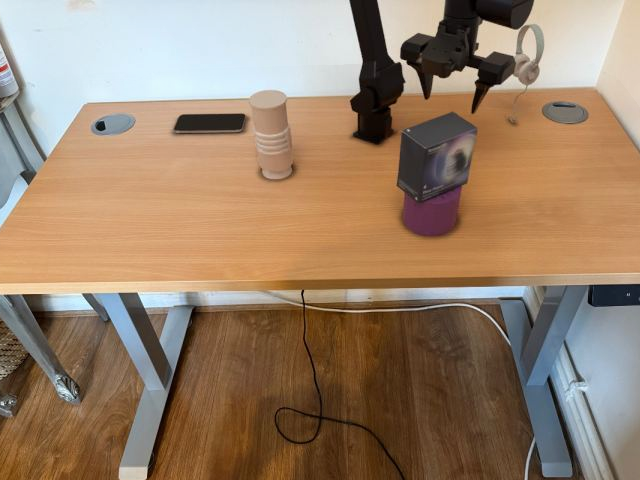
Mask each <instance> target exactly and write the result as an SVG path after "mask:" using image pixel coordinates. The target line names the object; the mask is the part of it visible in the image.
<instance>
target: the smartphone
mask: <svg viewBox="0 0 640 480" xmlns="http://www.w3.org/2000/svg"><path fill="white" fill-rule="evenodd" d="M246 119H247V117H246V114H245V113H241V112H240V113H239V112H238V113H183V114H180V115H179V116H178V118H177V120H176V122H175V125H174V127H173V132H174V133H176V134H200V133H201V134H204V133H205V134H207V133H208V134H209V133H211V134H212V133H214V134H215V133H240V132H242V131H243V130H244V126H245V121H246Z"/></svg>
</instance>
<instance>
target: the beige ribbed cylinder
mask: <svg viewBox="0 0 640 480" xmlns="http://www.w3.org/2000/svg"><path fill="white" fill-rule="evenodd" d="M287 101H288V96H287V94H285V92H283V91H281V90H276V89H265V90H259V91H257V92H254V93H253V94H251V95H250V97H249V98H248V104H249V106H250V108H251V116H252V121H253V127H252V132H253V138H254V144H255V150H256V152H257V160H258V161H257V162H258V165H259V167H260V168H261V169H262V170H261V174H262V176H264V178H266V179H269V180H282V179H285V178H287V177H289V176H290V175H291V174H292V173H293V168H292V165H293V163H294V157H293V151H292V148H293V141H292V140H293V139H292V131H291V129H292V128H291V125H290V123H289V119H288V111H287Z"/></svg>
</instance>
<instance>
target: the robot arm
mask: <svg viewBox="0 0 640 480" xmlns="http://www.w3.org/2000/svg"><path fill="white" fill-rule="evenodd" d="M348 1H349V5H350V10H351V15H352V19H353V25H354V29H355V32H356V37H357V42H358V46H359V50H360V51H359V52H360V56H361V61H362V62H361V67H360V71H359V77H358V84H359V85H358V86H359V92H358V93H356V94H355V95H354V96H353V97H352V98H350V99H349V104H350V108H351V111H352V112H354V113H356V114H357V129H356V130H355V131H354V132H353V133H352V137H354V138H358V139H359V140H363V141H366V142H369V143H371V144H374V145H380V144H381V143H382V142H383V141H384V140H386V139H388V138H389V137H390V136H391V135H392V134H393V133H395V129H393V115H391V114H392V107H391V106H393V105H395V104H397V103H398V100H399V99H400V97H401V96H402V95H403V93H404V91H405V84H406V80H405V76H404V74H403V72H404V71H403V64H402V63H401V62H400V61H397V62H395V61H394V60H393V58H392V57H391V56H390V55H389V53H388V47H387V42H386V37H385V33H384V27H383V22H382V16H381V11H380V7H379V6H380V5H379V1H378V0H348ZM534 3H535V0H444V7H443V14H442V15H443V17H442V19H441V20H440V21H438V25H437V31H436V33H435V36H434V35H430V34H425V33H421V32H417V33H415V34H413V35H412V36H410V37H409V38H407V39H406V40H404V41H403V42H402V43H401V46H400V48H399V50H400V52H399V59H400V60H402V61H405V63H406V65H407V66H409V67H411V68H412V69H413V70H414V71H415V72H416V74H417V78H418V80H419V83H420V86H421V90H422V94H423V98H424V101H428V100H429V99H430V98H431V93H432V90H433V84H434V77H438V78H440V79H447V78H449V77H450V76H451V75H452V73H454V72H459V73H462V72H463V70H464V69H465V68H466V67H467V68H471V69H474V70H477V74H476V75H477V77H478V78H477V79H476V80H474V86H475V91H474V94H473V99H472V103H471V110H470V114H471V115H474V114H475V113H476V112H477V110H478V109H479V107H480V105H481V104H482V103H483V100H484V99H485V98H486V95H487V94H488V92H489V90H490V89H491V88H493V87H495V86H499V85H500V86H501V85H503V84H504V82H506V81H507V80H508V79H509V77H511V76H513V73H514V70H515V66H516V61H515V59H514V57H515V55H511V54H507V53H502V52H499V51H492V52H491V53H490V54H489V55H487V56H486V57H484V56H481V55H477V54H476V51H478V50H479V46H480V43H479V42H477V41H478V40H477V39H478V35H479V28H480V26H481V25H482V24H483V21H484V22H488V23H491V24H495V25H498V26H500V27H504V28H507V29H510V30H514V31H516V30H517V31H518V30H520V29H521V28H522V27H523V26H525V24H526V22H527V21H528V19H529V16H530V15H531V12H532V10H533V7H534Z"/></svg>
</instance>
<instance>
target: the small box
mask: <svg viewBox="0 0 640 480" xmlns="http://www.w3.org/2000/svg"><path fill="white" fill-rule="evenodd" d="M478 130H479V127H477V126H476V125H475V124H473V123H471V122H470V121H468V120H466V119H465V118H464V117H462V116H460V115H459V114H457V113H456V112H454V111H451V112H448V113H445V114H442V115H440V116H437V117H434V118H431V119H428V120H426V121H423V122H420V123H417V124H415V125H414V124H413V125H412V126H409V127H406V128H403V129H402V130H401V132H400V134H401V135H400V146H399V158H398V169H397V170H398V171H397V177H396V179H397V180H396V187H397V188H399V190H401V191H402V192H404V194H405V193H406V194H407V195H408V196H410V197H411V198H412V199H413V200H414V201H416V202H417V203H418V204H419V203H422V202H424V201H426V200H429V199H431V198H433V197H436V196H438V195H441V194H443V193H445V192H448V191H450V190H452V189H455V188H457V187H460V186H462V187H463V186H464V185H467V184H468V182H469V176H470V171H471V166H472V161H473V155H474V150H475V145H476V141H477V135H478Z"/></svg>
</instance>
